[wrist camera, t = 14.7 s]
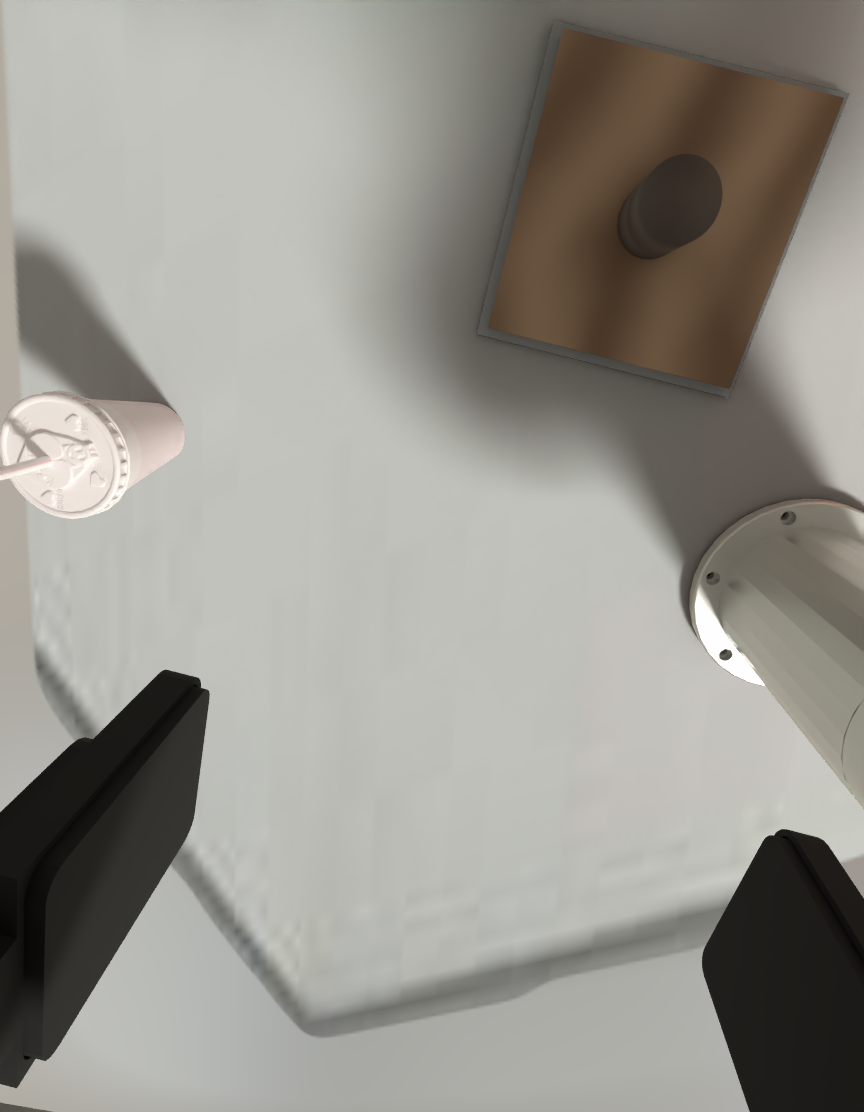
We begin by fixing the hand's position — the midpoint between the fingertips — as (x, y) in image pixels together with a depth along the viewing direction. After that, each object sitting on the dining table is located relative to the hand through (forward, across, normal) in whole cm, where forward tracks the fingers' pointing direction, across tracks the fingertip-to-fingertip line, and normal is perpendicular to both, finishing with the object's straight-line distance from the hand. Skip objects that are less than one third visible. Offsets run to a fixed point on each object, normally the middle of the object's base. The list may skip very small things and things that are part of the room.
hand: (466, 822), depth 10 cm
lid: (+30, -5, -15) cm, 34 cm away
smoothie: (+31, +21, +3) cm, 37 cm away
